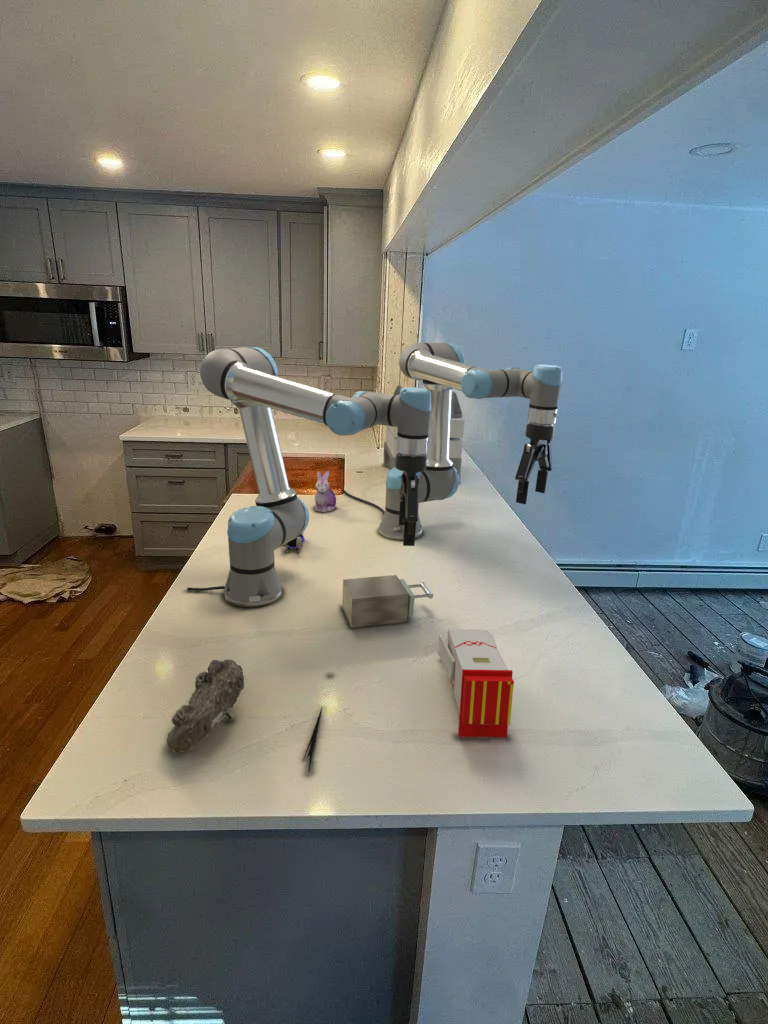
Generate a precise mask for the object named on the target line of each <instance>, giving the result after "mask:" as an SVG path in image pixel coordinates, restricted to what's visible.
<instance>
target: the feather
mask: <svg viewBox="0 0 768 1024" xmlns="http://www.w3.org/2000/svg"><path fill="white" fill-rule="evenodd" d="M329 675H330V676H331V675H332V674H331V673H330V674H329ZM322 710H323V707H321V708H320V710H319V713H318V716H317V719H316V723H315V725H314V728H313V731H312V733H311V737H310V739H309V742H308V745H307V748H306V751H305V754H304V757H303V760H302V763H301V767H302V765H303V763H304V761H305V758H308V759H309V760H308V762H307V763H308V764H307V766H308V771H310V770H311V766H312V765H311V764H312V760H313V757H315V756H314V755H315V751H316V749H315V746H317V739H318V733H319V729H320V722H321V717H322V712H323V711H322ZM313 754H314V755H313ZM306 755H307V757H306Z"/></svg>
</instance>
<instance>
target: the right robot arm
mask: <svg viewBox="0 0 768 1024" xmlns="http://www.w3.org/2000/svg"><path fill="white" fill-rule="evenodd" d="M398 366H399V369H400V371H401V373H403V375H404V376H405V377H407V378H409V379H411V380H415V381H422V382H421V383H422V385H423V387H424V388H425V389H427V390H429V391H430V393H431V414H430V425H429V436H428V440H430V444H427V446H428V449H427V453H426V456H427V464H426V469H425V470H424V471H423V472H418V473H416V475H418V478H419V484H418V509H419V507H420V506H419V505H420V503H426V502H434V501H443V500H446V499H450V498H452V497H453V496H454V495H455V494H456V493H457V491H458V489H459V485H460V482H459V475H458V474H457V473H458V472H457V470H456V469H455V468H454V467H453V463H452V462H451V461H450V459H449V443H450V421H451V399H452V392H453V390H457V391H460V392H462V394H463V395H464V396H465V397H466V398H467V399H474V400H475V399H476V400H481V399H493V398H515V397H518V398H523V399H528V400H529V403H528V410H527V418H526V421H527V422H528V423H526V425H525V426H526V427H525V437H526V438H528V439H530V441H529V443H524V446H523V451H522V455H521V458H520V460H519V464H518V468H517V471H516V474H515V477H514V479H515V480H516V481H518V482H517V490H516V498H515V503H518V504H521V505H527V499H528V492H529V485H530V480H529V479H530V476H531V473H532V471H533V468H534V467H535V464H536V462H537V463H538V467H539V468H538V469H537V474H536V482H535V489H534V492H536V493H540V494H545V493H546V488H547V487H546V486H547V482H548V481H547V480H548V475H549V472H551V471H552V468H553V467H552V466H553V459H552V440H553V439H554V437H555V429H556V426H555V424H556V421H557V418H558V417H559V413H558V407H559V400H560V394H561V388H562V385H563V368H562V367H561V366H559V365H554V364H552V365H551V364H536V365H534V366H533V370H529V369H524V368H521V367H506V368H503V369H501V368H499V369H498V368H497V369H487V368H482V367H478V366H475V365H471V364H467V363H466V359H465V355H464V353H463V351H462V350H461V348H460V347H459V345H457V344H455V343H451V342H413V343H411V344H409V345H407V346H406V347H405V348H403V350H402V351H401V353H400V356H399V359H398ZM402 473H403V471H400V470H398V469H397V468H396V467H395V468H393V469H391V470H390V469H389V470H388V472H387V475H386V479H385V504H384V505H385V507H384V508H385V509H383V508H382V507H380V506H379V505H377V504H375V503H373V502H370V501H369V500H365V499H362V498H360V497H357V496H354V495H352V494H350V493H348V492H347V491H346V490H345V489H344V488H342V489H341V491H342V493H344V494H345V495H346V496H348V497H349V498H352V499H354V500H358V501H360V502H362V503H365V504H368V505H371V506H373V507H375V508H377V509H378V510H379V511H380V512H381V513H382V519H381V522H379V525H378V533H379V534H380V535H381V536H382V537H385V538H387V539H389V540H395V541H403V537H404V525H399V511H400V501H402V500H400V489H401V476H402ZM410 517H414V516H410ZM417 518H418V521H417V522H416V531H415V539H418V538H420V537H421V536H422V535H423V525H422V524H421V518H420V515H419V513H418V517H417Z"/></svg>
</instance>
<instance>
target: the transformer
mask: <svg viewBox="0 0 768 1024" xmlns="http://www.w3.org/2000/svg"><path fill="white" fill-rule="evenodd" d="M402 388H403V387H402V385H399V384H398V385H397V386H396V388H395V390H394V392H393V394H392V395H399V394H400V390H401V389H402ZM385 426H386V425H385ZM464 429H465V419H464V418H463V411H462V408H461V405H460V402H459V398H458V395H457V392H455V391H453V390H452V399H451V421H450V443H449V459H450V461H451V462H452V463H453V467H454V468H455V469H456V470H457V472H458V473H457V474H458V475H459V483H461V472H462V461H463V460H462V453H463V442H464V441H463V440H462V439H463V438H464V431H465V430H464ZM397 432H398V428H397V427H392V426H386V428H385V438H384V442H383V466H384V467H388V468H389V471H390V470H391V469H393V468H395V467H396V466H395V465H396V454H397V453H398V452H397V451H396V444H397Z"/></svg>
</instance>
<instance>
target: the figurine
mask: <svg viewBox="0 0 768 1024" xmlns="http://www.w3.org/2000/svg"><path fill="white" fill-rule="evenodd" d="M329 475H330V471H329V470H326V471H325V472H324V473H323V474H322V473H321V471H320V470H318V471H317V473H316V478H317V480H316V483H315V485H314V488H315V491H316V493H315V495H314V502H315V504H314V505H315V506H314V509H315V511H316V512H319V513H326V512H331V511H334V510H335V509H336V505H337V497H336V493H335V492H334V490H333V489H331V486H330V483H329V480H328V479H329Z"/></svg>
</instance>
